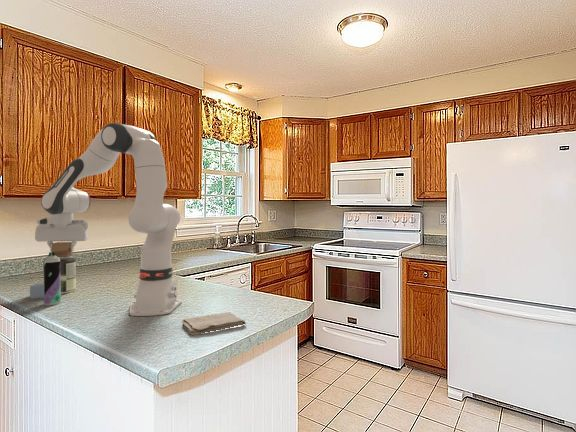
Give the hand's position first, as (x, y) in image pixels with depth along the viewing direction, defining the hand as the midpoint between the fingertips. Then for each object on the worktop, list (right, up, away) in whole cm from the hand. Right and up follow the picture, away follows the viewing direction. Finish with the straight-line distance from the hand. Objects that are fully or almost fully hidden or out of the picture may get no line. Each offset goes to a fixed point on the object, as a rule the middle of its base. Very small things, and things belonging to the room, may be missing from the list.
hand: (62, 251), depth 160 cm
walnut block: (0, -2, 0) cm, 2 cm away
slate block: (-5, -18, -8) cm, 20 cm away
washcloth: (+75, -21, -42) cm, 88 cm away
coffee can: (0, -18, +1) cm, 18 cm away
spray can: (+8, -19, -19) cm, 27 cm away
